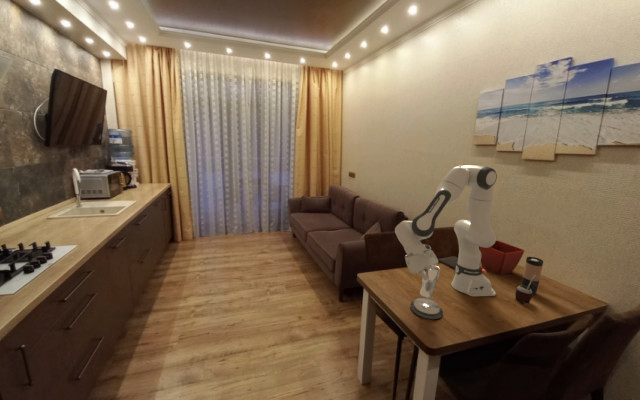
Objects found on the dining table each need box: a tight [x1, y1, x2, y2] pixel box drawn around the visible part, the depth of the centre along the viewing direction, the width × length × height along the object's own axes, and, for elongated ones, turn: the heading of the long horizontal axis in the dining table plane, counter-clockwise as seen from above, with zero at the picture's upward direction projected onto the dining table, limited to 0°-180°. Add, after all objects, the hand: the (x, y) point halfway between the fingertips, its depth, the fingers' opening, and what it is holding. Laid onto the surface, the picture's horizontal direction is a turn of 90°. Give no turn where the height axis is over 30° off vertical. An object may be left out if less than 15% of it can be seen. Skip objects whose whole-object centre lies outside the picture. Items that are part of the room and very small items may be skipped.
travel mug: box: [520, 256, 544, 296], centre depth 153 cm, size 8×8×20 cm
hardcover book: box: [437, 255, 458, 271], centre depth 185 cm, size 16×23×2 cm
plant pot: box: [478, 239, 525, 276], centre depth 181 cm, size 19×19×17 cm
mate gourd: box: [514, 275, 536, 305], centre depth 143 cm, size 8×8×15 cm
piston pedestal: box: [409, 297, 444, 321], centre depth 132 cm, size 15×15×3 cm
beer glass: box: [419, 264, 441, 299], centre depth 129 cm, size 7×7×15 cm
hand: (431, 277), depth 128 cm, fingers closed on beer glass, 7 cm apart
